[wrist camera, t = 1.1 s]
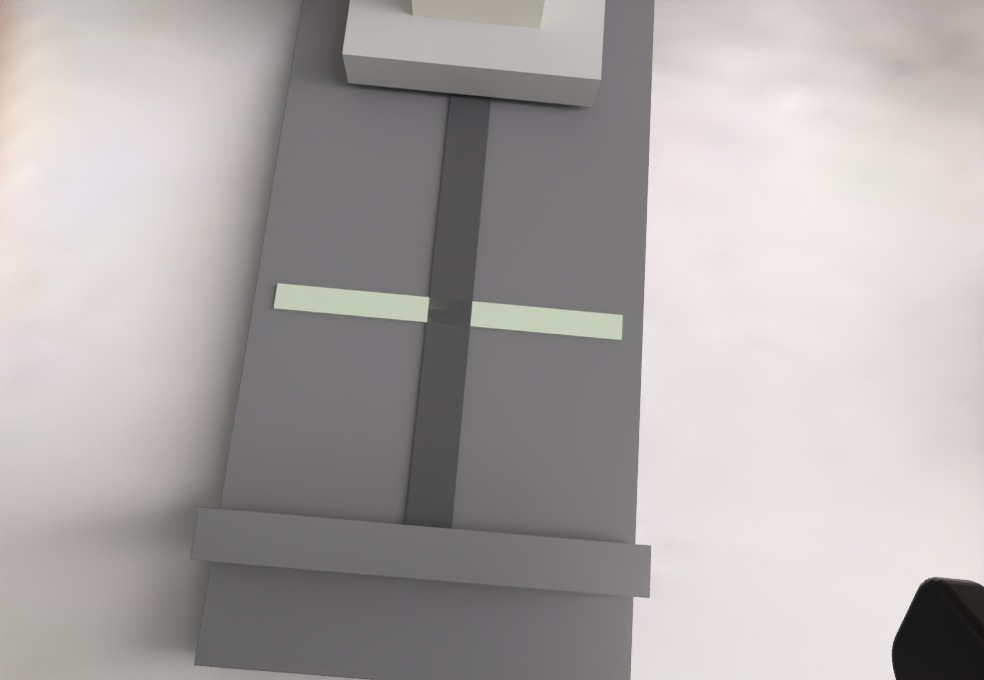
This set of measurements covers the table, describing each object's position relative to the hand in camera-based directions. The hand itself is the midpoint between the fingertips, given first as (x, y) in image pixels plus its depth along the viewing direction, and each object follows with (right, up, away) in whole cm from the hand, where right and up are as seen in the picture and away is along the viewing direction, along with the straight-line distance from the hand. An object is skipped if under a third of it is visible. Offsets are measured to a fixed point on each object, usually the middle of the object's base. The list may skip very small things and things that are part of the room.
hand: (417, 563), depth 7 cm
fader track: (0, +5, +14) cm, 15 cm away
